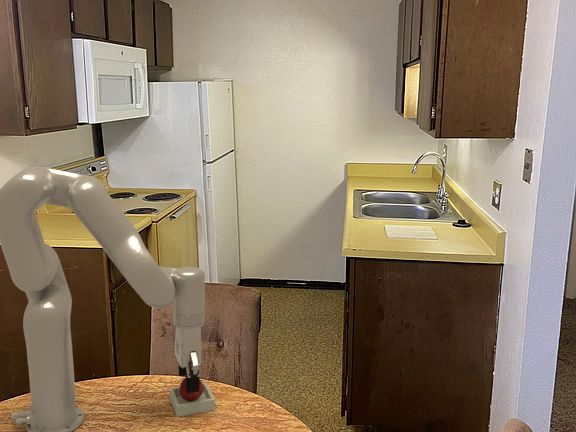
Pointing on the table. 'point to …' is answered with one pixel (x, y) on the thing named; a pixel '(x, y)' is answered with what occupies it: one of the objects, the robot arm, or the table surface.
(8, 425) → the table surface
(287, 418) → the table surface
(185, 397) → the onion
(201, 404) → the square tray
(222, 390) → the table surface
